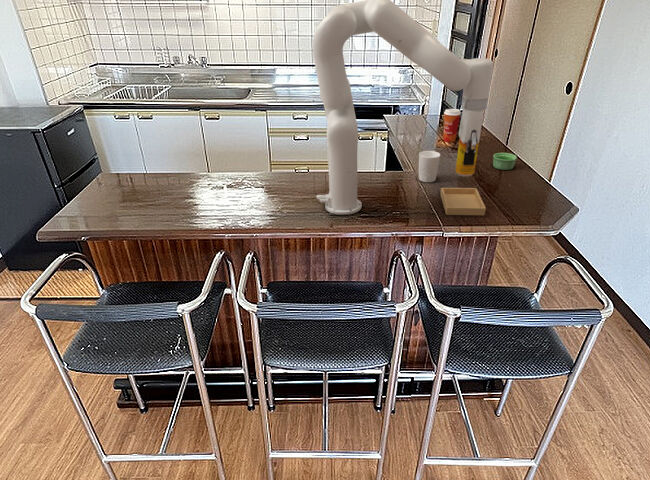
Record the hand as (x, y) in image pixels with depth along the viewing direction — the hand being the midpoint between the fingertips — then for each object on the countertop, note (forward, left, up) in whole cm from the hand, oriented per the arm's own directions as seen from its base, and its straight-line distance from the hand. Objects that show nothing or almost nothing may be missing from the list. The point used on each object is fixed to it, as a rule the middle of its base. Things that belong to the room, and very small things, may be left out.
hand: (466, 160), depth 142 cm
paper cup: (+6, +71, -16) cm, 74 cm away
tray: (0, 0, -16) cm, 16 cm away
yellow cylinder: (0, 0, -5) cm, 5 cm away
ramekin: (+23, +36, -16) cm, 46 cm away
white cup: (-9, +22, -16) cm, 29 cm away
